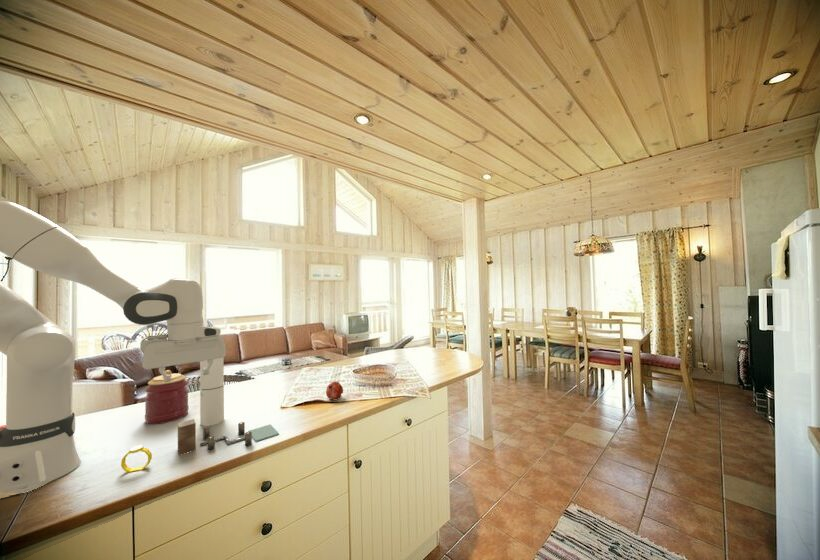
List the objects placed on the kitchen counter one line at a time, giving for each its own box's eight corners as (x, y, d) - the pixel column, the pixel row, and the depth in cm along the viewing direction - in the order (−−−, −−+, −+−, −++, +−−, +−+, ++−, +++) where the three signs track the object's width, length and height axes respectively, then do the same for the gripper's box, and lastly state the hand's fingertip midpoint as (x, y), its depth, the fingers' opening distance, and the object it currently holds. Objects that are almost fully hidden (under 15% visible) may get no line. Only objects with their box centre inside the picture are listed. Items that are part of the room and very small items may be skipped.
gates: (210, 458, 85) (210, 445, 85) (202, 438, 97) (202, 427, 97) (252, 444, 92) (252, 432, 92) (240, 427, 104) (240, 417, 104)
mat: (255, 442, 94) (255, 440, 94) (248, 432, 100) (248, 430, 100) (278, 434, 98) (278, 433, 98) (270, 425, 105) (270, 424, 105)
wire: (203, 452, 88) (203, 450, 88) (200, 445, 92) (200, 442, 92) (251, 437, 97) (251, 435, 97) (247, 431, 101) (247, 428, 101)
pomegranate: (332, 400, 134) (317, 392, 127) (341, 384, 137) (327, 375, 130) (342, 406, 129) (328, 397, 122) (351, 389, 132) (337, 380, 126)
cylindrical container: (212, 426, 105) (211, 354, 106) (195, 425, 107) (195, 354, 107) (228, 417, 112) (228, 350, 113) (212, 416, 114) (211, 350, 114)
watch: (120, 476, 78) (118, 454, 78) (125, 470, 81) (123, 448, 81) (149, 469, 80) (147, 447, 80) (153, 463, 83) (151, 442, 83)
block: (178, 455, 87) (178, 427, 87) (177, 450, 90) (177, 423, 90) (195, 450, 90) (195, 423, 90) (194, 445, 93) (194, 419, 93)
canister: (144, 428, 105) (144, 377, 105) (144, 417, 115) (144, 370, 115) (190, 417, 114) (190, 370, 114) (187, 407, 123) (186, 364, 124)
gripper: (139, 338, 82) (140, 388, 82) (226, 329, 95) (227, 372, 95) (141, 335, 87) (142, 383, 87) (223, 327, 100) (224, 368, 100)
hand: (187, 377), depth 91 cm, fingers open, 8 cm apart
